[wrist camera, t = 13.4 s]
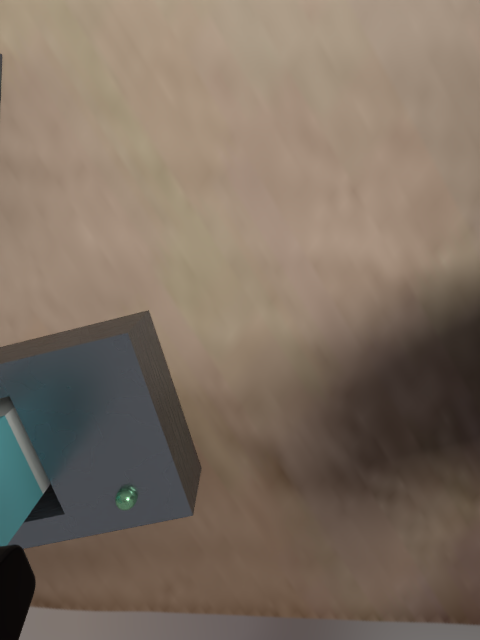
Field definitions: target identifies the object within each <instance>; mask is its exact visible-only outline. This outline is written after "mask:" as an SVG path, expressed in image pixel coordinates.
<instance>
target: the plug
mask: <svg viewBox="0 0 480 640" xmlns="http://www.w3.org/2000/svg"><path fill="white" fill-rule="evenodd" d="M50 484H51V483H50V481H49V479H48V477H47V475H46V473H45V471H44V468H43V466H42V464H41V462H40V460H39V458H38V456H37V454H36V451H35V449H34V447H33V445H32V443H31V441H30V439H29V437H28V434H27V432H26V430H25V428H24V426H23V424H22V422H21V420H20V417H19V415H18V413H17V411H16V409H15V407H14V405H13V403H12V400H11V398H10V396H8V397H4V398H0V546H6V545H8V543H9V542H10V541H11V539H12V538H13V536H14V535H15V533H16V532H17V531H18V529H19V528H20V526H21V525H22V524H23V522H24V521H25V519H26V518H27V517H28V515H29V514H30V512H31V511H32V509H33V508H34V507H35V505H36V504H37V502H38V501H39V500H40V498H41V497H42V495H43V494H44V492H45V491H46V490H47V488H48V487H49V485H50Z"/></svg>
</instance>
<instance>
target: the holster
mask: <svg viewBox="0 0 480 640" xmlns="http://www.w3.org/2000/svg"><path fill="white" fill-rule="evenodd" d="M1 75H2V54H0V101H1Z"/></svg>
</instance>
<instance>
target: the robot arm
mask: <svg viewBox="0 0 480 640" xmlns="http://www.w3.org/2000/svg"><path fill="white" fill-rule="evenodd" d="M34 591H35V576H34V573H33V571H32V569H31V566H30V564H29V562H28V559H27V557H26V555H25V553H24V550H23V549H22V547H21V546H19V545H16V544H13V545H6V546H0V640H19V637H20V633H21V631H22V627H23V625H24V622H25V618H26V615H27V613H28V610H29V606H30V603H31V600H32V597H33V594H34Z"/></svg>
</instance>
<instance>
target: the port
mask: <svg viewBox="0 0 480 640" xmlns="http://www.w3.org/2000/svg"><path fill="white" fill-rule="evenodd" d="M8 396H10V398H11V400H12V403H13V405H14V407H15V409H16V411H17V413H18V415H19V417H20V420H21V422H22V424H23V426H24V428H25V430H26V432H27V434H28V437H29V439H30V441H31V443H32V445H33V447H34V449H35V451H36V454H37V456H38V458H39V460H40V462H41V464H42V466H43V468H44V471H45V473H46V475H47V477H48V479H49V481H50V483H51V484H50V485H49V487H48V488H47V490H46V491H45V492H44V494H43V495H42V497H41V498H40V500H39V501H38V502H37V504H36V505H35V507H34V508H33V509H32V511H31V512H30V514H29V515H28V517H27V518H26V519H25V521H24V522H23V524H22V525H21V526H20V528H19V529H18V531H17V532H16V533H15V535H14V536H13V538H12V539H11V541H10V542H9V543H8V545H13V544H16V545H19V546H21V547H22V549H24V548H30V547H35V546H40V545H45V544H50V543H55V542H60V541H65V540H70V539H76V538H81V537H86V536H91V535H96V534H101V533H106V532H111V531H116V530H122V529H127V528H132V527H137V526H142V525H147V524H152V523H157V522H162V521H167V520H173V519H178V518H183V517H188V516H193V512H194V507H195V501H196V495H197V490H198V484H199V478H200V473H201V465H200V462H199V459H198V456H197V453H196V450H195V447H194V444H193V441H192V438H191V435H190V432H189V429H188V426H187V423H186V420H185V417H184V414H183V411H182V408H181V405H180V402H179V399H178V396H177V393H176V390H175V387H174V384H173V382H172V379H171V376H170V373H169V370H168V367H167V364H166V361H165V358H164V355H163V352H162V349H161V346H160V343H159V340H158V337H157V334H156V331H155V328H154V325H153V322H152V319H151V316H150V313H149V311H145V312H141V313H137V314H133V315H129V316H125V317H121V318H117V319H113V320H109V321H105V322H101V323H96V324H92V325H88V326H84V327H80V328H76V329H72V330H68V331H64V332H60V333H56V334H52V335H48V336H44V337H40V338H36V339H32V340H28V341H24V342H20V343H16V344H12V345H8V346H4V347H0V398H4V397H8Z"/></svg>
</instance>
